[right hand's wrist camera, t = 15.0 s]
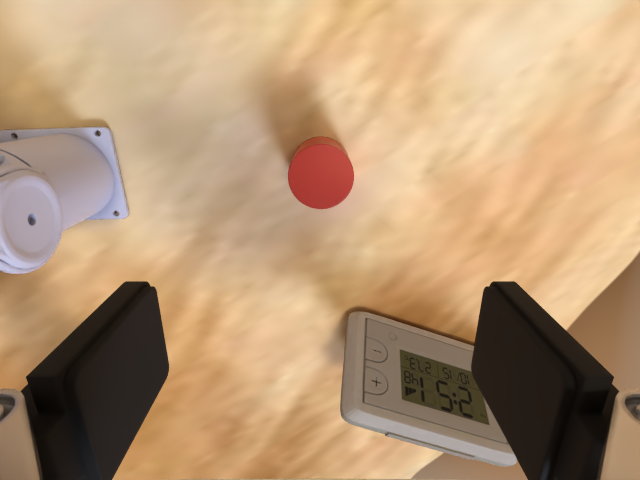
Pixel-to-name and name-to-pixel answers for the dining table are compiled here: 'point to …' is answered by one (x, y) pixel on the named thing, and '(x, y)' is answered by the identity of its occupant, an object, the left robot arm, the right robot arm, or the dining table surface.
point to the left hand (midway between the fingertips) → (58, 424)
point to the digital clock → (417, 390)
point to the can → (320, 173)
